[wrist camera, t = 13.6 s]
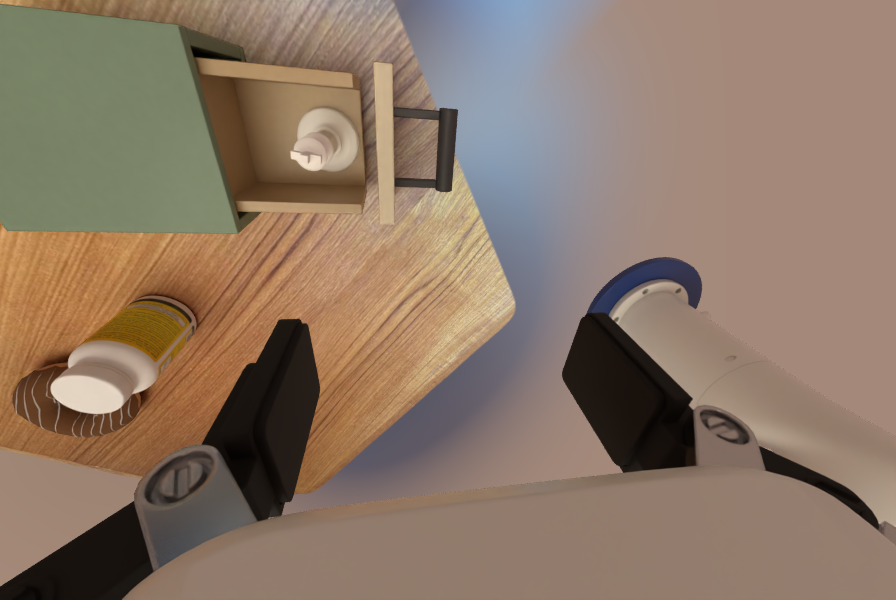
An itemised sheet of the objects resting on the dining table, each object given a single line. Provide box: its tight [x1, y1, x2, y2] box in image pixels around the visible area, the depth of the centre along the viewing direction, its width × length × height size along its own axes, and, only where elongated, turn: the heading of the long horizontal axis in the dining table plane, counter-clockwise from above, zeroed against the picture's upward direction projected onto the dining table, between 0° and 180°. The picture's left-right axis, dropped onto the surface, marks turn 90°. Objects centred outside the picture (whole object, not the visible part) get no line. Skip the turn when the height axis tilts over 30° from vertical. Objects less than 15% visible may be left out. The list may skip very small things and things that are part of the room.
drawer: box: [194, 57, 458, 224], centre depth 25 cm, size 17×10×7 cm, turn 86°
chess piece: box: [290, 106, 360, 172], centre depth 23 cm, size 5×5×10 cm
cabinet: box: [0, 4, 261, 234], centre depth 22 cm, size 14×12×9 cm
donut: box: [12, 363, 141, 438], centre depth 36 cm, size 11×11×4 cm
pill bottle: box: [51, 296, 196, 414], centre depth 30 cm, size 6×6×11 cm
